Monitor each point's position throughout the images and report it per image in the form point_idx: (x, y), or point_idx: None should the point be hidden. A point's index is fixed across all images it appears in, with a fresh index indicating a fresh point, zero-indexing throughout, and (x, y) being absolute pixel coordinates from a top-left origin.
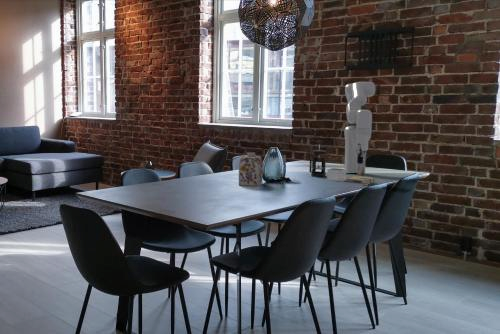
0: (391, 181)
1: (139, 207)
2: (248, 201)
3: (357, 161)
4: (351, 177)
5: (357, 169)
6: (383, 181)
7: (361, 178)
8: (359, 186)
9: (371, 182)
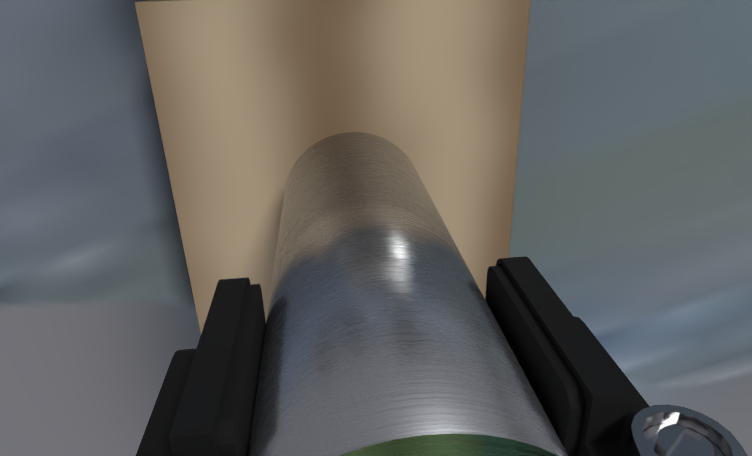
0: (714, 365)
1: None
2: None
3: (210, 310)
4: (317, 13)
5: (314, 181)
6: (675, 306)
7: None
8: (59, 255)
9: None
